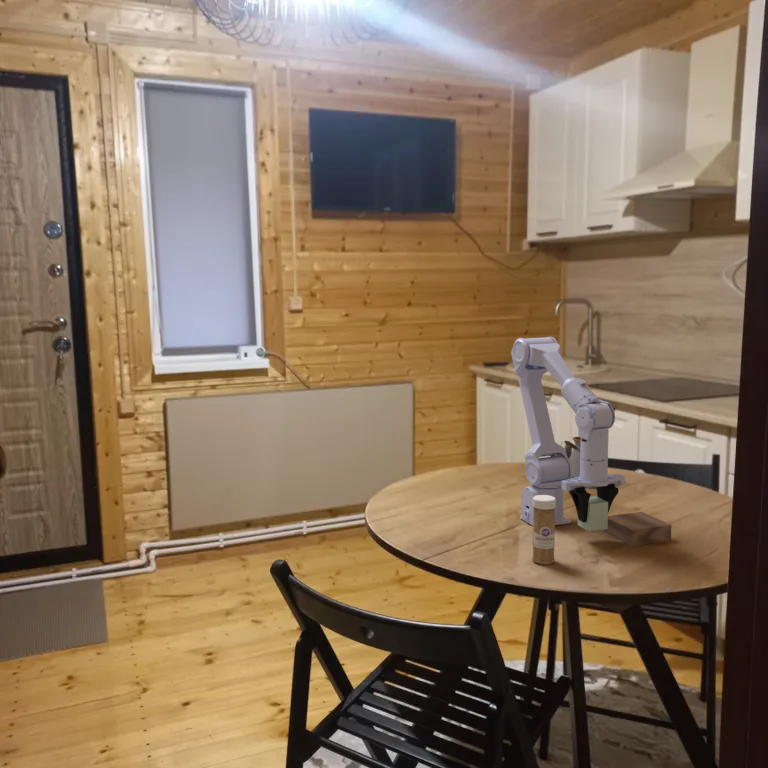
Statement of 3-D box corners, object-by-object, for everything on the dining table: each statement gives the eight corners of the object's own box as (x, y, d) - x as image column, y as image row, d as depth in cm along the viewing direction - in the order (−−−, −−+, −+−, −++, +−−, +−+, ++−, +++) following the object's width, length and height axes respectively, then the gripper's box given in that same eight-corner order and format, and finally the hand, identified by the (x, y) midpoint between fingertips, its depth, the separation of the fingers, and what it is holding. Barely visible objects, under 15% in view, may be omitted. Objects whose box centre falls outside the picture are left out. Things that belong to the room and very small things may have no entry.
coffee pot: (571, 475, 210) (572, 425, 208) (610, 480, 203) (611, 429, 201) (543, 493, 192) (543, 438, 190) (584, 499, 186) (585, 443, 184)
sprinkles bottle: (537, 566, 141) (538, 501, 140) (528, 558, 146) (529, 494, 144) (558, 564, 142) (559, 499, 141) (549, 556, 147) (550, 493, 145)
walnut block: (632, 546, 152) (632, 530, 151) (604, 531, 161) (604, 516, 161) (670, 540, 155) (671, 524, 154) (641, 526, 164) (641, 511, 164)
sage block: (589, 531, 151) (590, 504, 150) (577, 524, 155) (578, 498, 155) (607, 528, 153) (608, 501, 152) (595, 522, 157) (595, 496, 156)
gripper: (574, 465, 146) (573, 529, 148) (634, 459, 150) (632, 521, 152) (556, 458, 153) (555, 519, 154) (614, 452, 157) (612, 511, 159)
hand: (592, 519), depth 154 cm, fingers closed on sage block, 4 cm apart
